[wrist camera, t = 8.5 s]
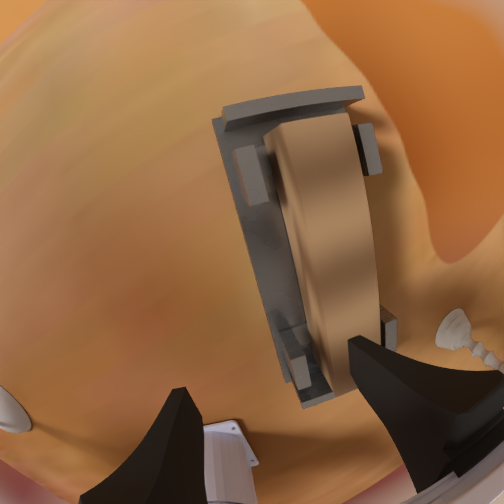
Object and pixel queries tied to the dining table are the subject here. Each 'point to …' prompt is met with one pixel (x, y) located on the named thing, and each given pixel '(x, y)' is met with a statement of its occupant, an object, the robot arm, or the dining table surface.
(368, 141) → the bracket board
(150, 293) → the dining table surface
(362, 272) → the rail
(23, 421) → the lamp
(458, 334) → the chalice
